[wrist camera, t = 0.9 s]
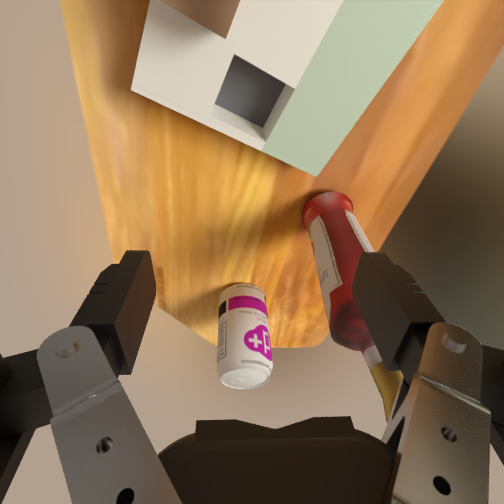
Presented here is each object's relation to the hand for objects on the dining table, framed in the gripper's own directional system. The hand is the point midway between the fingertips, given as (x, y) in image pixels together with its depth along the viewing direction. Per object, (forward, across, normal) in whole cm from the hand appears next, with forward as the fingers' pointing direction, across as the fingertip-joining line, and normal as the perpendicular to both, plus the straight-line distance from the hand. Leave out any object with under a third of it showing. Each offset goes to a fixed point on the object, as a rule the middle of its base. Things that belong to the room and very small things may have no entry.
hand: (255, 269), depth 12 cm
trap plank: (+24, -3, -9) cm, 26 cm away
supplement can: (+31, 0, +30) cm, 43 cm away
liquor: (+28, -12, +11) cm, 32 cm away
